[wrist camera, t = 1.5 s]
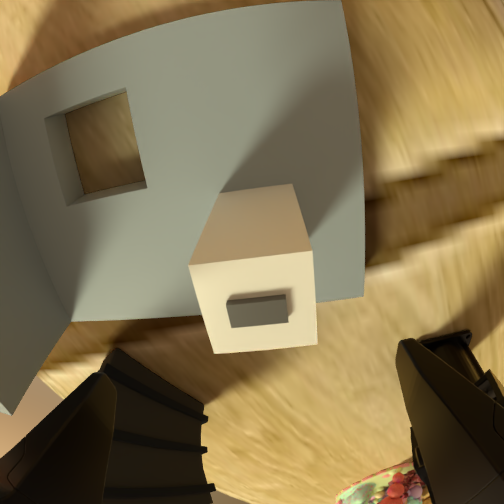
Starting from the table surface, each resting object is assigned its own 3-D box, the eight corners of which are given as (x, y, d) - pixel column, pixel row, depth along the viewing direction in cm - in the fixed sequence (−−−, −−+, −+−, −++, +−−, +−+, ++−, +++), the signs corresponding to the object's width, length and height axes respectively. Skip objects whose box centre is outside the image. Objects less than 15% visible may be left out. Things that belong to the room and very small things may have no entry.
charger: (292, 183, 17) (313, 255, 10) (299, 249, 19) (318, 349, 12) (219, 193, 18) (186, 270, 10) (231, 257, 19) (213, 359, 12)
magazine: (83, 334, 24) (98, 511, 14) (198, 365, 33) (234, 499, 23) (68, 352, 25) (81, 511, 15) (177, 378, 34) (208, 504, 24)
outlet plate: (331, 11, 15) (421, -84, 3) (355, 276, 23) (411, 422, 11) (2, 104, 17) (-127, 143, 6) (66, 304, 25) (-5, 410, 14)
